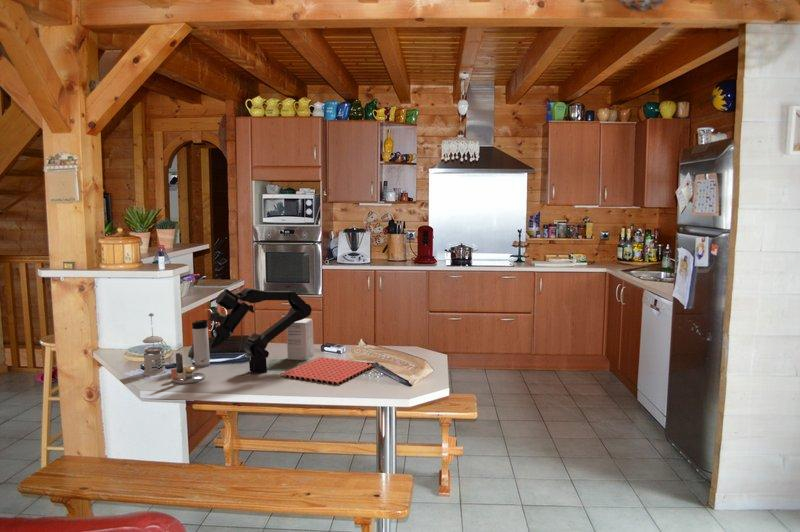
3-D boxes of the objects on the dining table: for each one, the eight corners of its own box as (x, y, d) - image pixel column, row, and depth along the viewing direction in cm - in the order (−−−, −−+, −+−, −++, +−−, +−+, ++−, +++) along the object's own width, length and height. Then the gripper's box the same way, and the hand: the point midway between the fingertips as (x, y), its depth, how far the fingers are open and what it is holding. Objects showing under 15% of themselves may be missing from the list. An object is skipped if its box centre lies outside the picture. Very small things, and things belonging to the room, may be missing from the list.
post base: (204, 373, 249) (203, 361, 248) (205, 381, 237) (205, 369, 237) (171, 377, 244) (171, 365, 244) (171, 385, 233) (171, 373, 233)
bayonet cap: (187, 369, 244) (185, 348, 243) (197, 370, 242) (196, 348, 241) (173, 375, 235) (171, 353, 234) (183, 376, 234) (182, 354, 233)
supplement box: (295, 354, 277) (293, 317, 275) (314, 354, 275) (312, 318, 273) (287, 359, 268) (285, 322, 266) (307, 360, 266) (305, 322, 264)
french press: (137, 374, 250) (132, 314, 247) (157, 366, 261) (154, 309, 258) (155, 376, 246) (151, 316, 244) (175, 368, 257) (172, 310, 254)
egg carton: (279, 378, 242) (279, 373, 242) (320, 361, 266) (320, 356, 266) (338, 387, 229) (338, 382, 228) (375, 368, 253) (375, 363, 253)
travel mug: (206, 367, 257) (203, 321, 255) (191, 367, 259) (188, 321, 256) (213, 363, 263) (210, 318, 261) (199, 363, 265) (196, 318, 263)
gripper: (222, 302, 251) (198, 333, 249) (216, 305, 233) (191, 338, 231) (244, 318, 253) (221, 349, 251) (240, 322, 234) (215, 355, 233)
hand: (212, 347), depth 241 cm, fingers closed
